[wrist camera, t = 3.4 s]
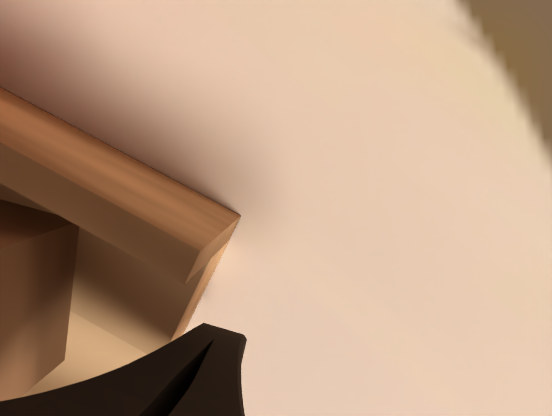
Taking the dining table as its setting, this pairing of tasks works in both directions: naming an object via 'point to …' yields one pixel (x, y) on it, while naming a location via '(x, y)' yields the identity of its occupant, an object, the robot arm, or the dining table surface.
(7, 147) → the trap box
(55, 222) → the block
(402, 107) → the dining table surface
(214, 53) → the dining table surface
